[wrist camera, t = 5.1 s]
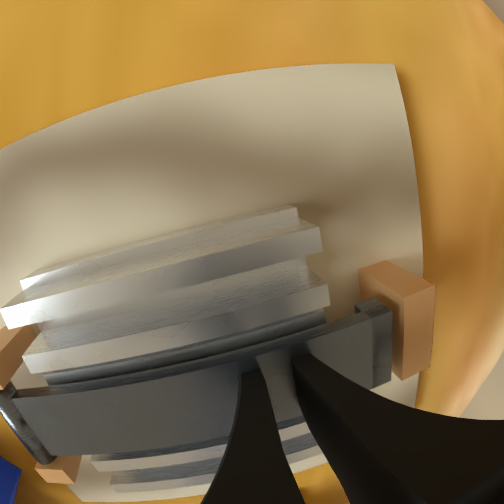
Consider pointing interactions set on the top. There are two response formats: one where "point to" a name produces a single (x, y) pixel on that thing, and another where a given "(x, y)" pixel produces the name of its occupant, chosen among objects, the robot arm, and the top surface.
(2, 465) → the bracket
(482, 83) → the top surface
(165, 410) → the retention strap
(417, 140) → the top surface
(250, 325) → the heat sink
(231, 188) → the board
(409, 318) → the lugs
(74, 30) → the top surface
